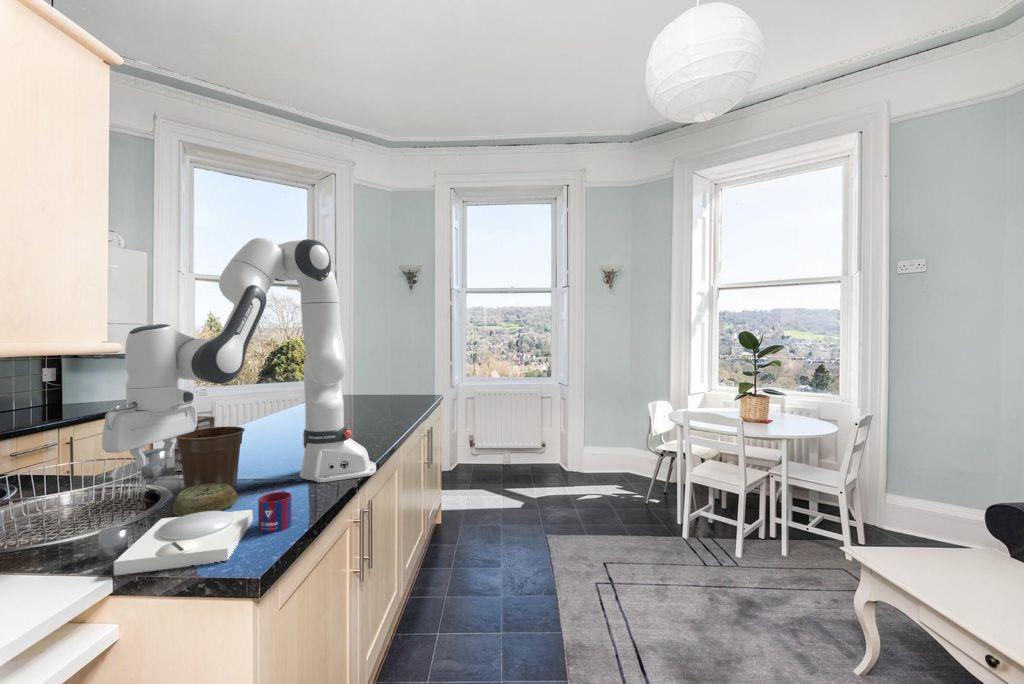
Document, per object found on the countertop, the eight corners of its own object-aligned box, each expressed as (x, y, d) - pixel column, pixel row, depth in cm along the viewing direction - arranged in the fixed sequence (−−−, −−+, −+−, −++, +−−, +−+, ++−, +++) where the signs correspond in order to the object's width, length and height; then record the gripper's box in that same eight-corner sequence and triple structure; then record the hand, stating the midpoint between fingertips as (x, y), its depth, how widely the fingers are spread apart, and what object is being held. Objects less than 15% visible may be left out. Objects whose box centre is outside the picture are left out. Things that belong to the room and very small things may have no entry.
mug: (252, 533, 100) (252, 502, 100) (273, 515, 110) (273, 487, 110) (284, 532, 100) (284, 502, 100) (302, 514, 110) (302, 486, 110)
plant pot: (188, 482, 133) (187, 427, 133) (250, 477, 138) (250, 424, 138) (165, 502, 117) (164, 440, 117) (236, 495, 123) (236, 436, 122)
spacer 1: (132, 549, 92) (132, 524, 92) (121, 559, 88) (121, 533, 88) (105, 552, 91) (105, 527, 91) (93, 562, 87) (92, 536, 87)
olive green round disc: (200, 522, 106) (200, 501, 106) (158, 515, 110) (158, 494, 110) (249, 501, 119) (249, 482, 119) (210, 496, 123) (210, 477, 123)
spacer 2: (172, 470, 102) (171, 448, 101) (154, 477, 97) (154, 454, 97) (153, 470, 102) (153, 448, 102) (135, 476, 98) (135, 453, 98)
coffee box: (192, 473, 141) (191, 421, 141) (173, 472, 142) (173, 421, 142) (215, 464, 150) (215, 416, 150) (197, 463, 151) (197, 415, 151)
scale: (252, 520, 107) (252, 506, 107) (226, 562, 87) (226, 545, 87) (161, 529, 101) (161, 514, 101) (112, 577, 82) (112, 558, 82)
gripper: (120, 407, 89) (123, 478, 89) (201, 392, 109) (203, 450, 109) (91, 407, 89) (93, 477, 90) (177, 392, 109) (179, 449, 110)
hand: (154, 462), depth 100 cm, fingers closed on spacer 2, 4 cm apart
